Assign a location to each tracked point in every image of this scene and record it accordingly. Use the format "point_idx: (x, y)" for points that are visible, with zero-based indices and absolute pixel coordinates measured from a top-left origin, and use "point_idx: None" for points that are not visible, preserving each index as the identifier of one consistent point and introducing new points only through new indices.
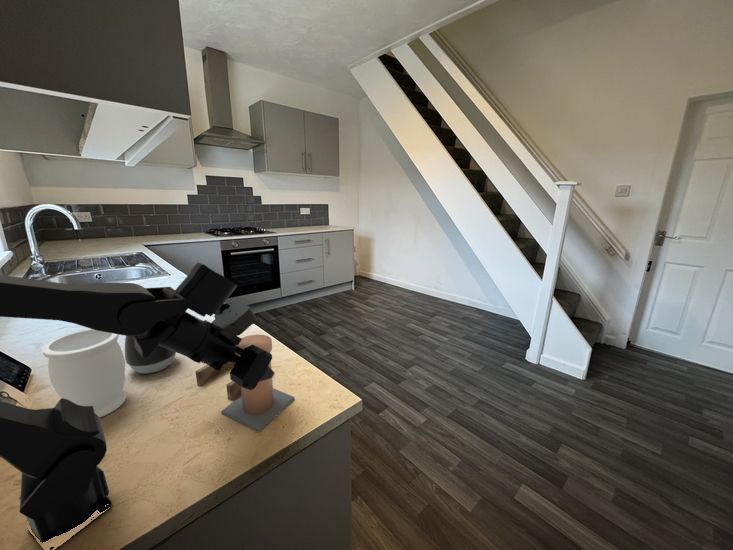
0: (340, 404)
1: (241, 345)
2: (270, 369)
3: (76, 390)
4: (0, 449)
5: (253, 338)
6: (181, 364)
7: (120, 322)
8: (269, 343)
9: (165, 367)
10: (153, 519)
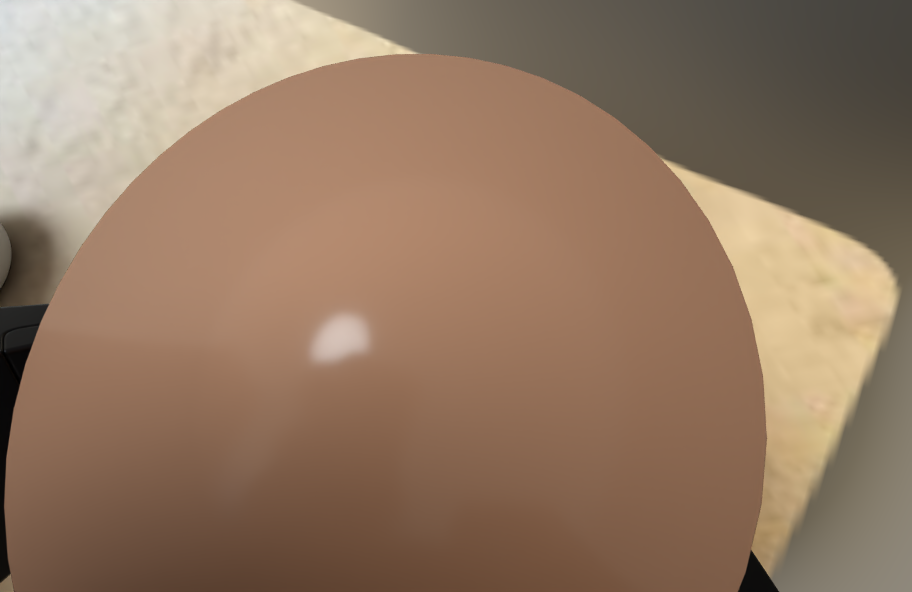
0: (861, 303)
1: (152, 513)
2: (760, 578)
3: None
4: None
5: (279, 200)
6: (56, 239)
7: None
8: (711, 286)
9: (2, 279)
10: None
